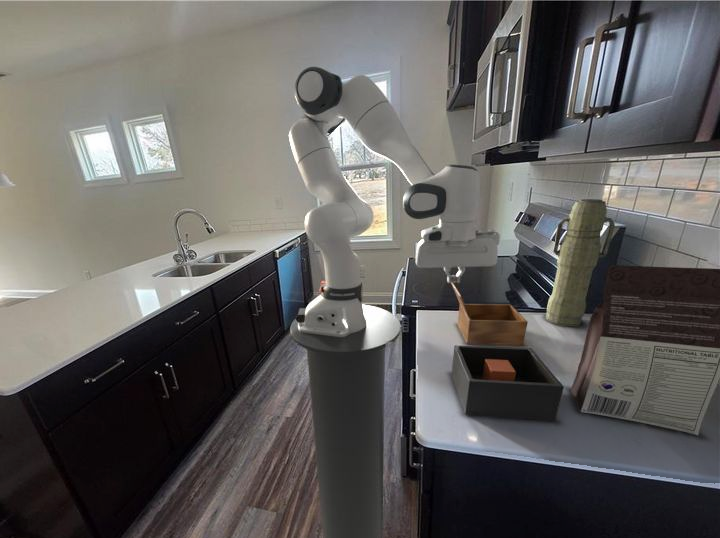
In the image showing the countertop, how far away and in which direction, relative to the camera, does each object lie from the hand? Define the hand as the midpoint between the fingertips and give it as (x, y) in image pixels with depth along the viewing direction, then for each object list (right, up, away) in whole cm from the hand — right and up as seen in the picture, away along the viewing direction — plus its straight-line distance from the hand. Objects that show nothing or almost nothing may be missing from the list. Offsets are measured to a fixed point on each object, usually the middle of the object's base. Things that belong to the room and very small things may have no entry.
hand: (453, 282), depth 87 cm
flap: (+3, -5, +1) cm, 6 cm away
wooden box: (+12, -15, +4) cm, 19 cm away
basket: (0, -25, -21) cm, 32 cm away
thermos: (+37, -11, +9) cm, 40 cm away
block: (0, -24, -21) cm, 32 cm away
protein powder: (+22, -26, -27) cm, 43 cm away
